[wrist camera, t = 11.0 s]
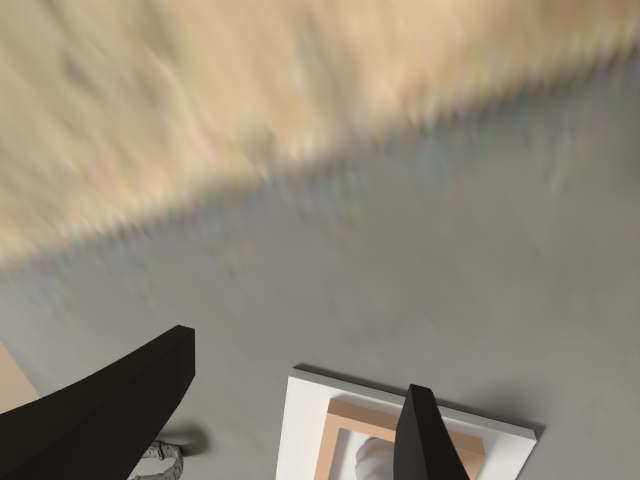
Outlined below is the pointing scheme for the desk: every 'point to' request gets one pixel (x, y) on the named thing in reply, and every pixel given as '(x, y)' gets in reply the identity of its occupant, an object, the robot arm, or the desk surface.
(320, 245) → the desk surface
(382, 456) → the rook chess piece
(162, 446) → the wristwatch
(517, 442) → the socket holder
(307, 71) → the desk surface
